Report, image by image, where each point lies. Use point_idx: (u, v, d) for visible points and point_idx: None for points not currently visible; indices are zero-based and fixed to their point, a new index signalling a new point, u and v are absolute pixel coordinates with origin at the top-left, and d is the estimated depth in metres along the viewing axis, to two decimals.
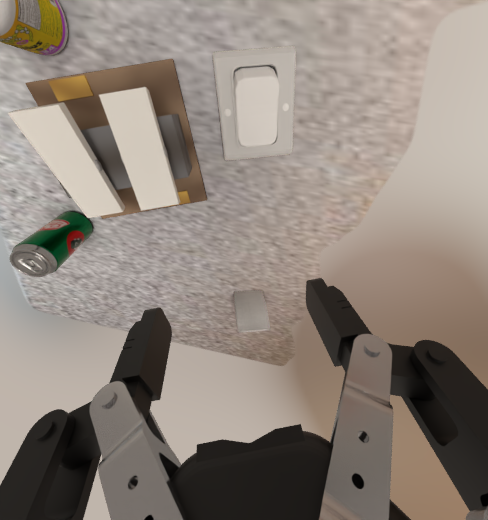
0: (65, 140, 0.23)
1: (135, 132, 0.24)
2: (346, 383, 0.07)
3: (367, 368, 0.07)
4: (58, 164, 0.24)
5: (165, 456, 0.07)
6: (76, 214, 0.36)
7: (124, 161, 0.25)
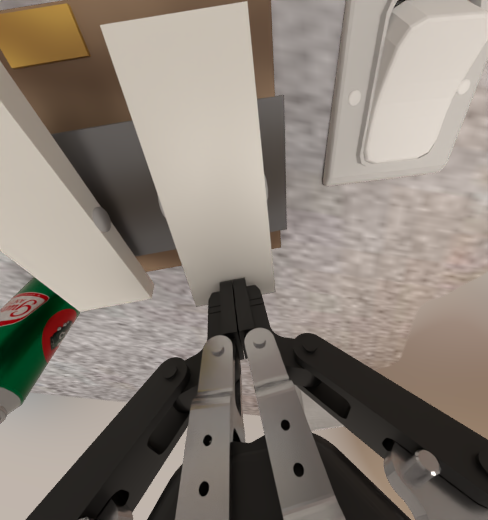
0: (8, 167, 0.08)
1: (201, 142, 0.09)
2: (255, 386, 0.07)
3: (263, 360, 0.08)
4: None
5: (237, 432, 0.07)
6: None
7: (167, 213, 0.10)
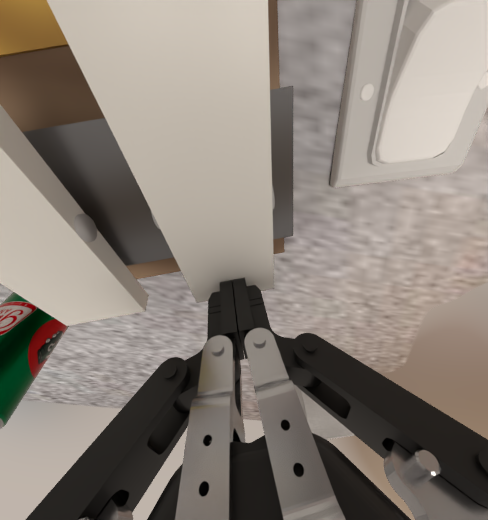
0: None
1: (199, 154, 0.07)
2: (255, 386, 0.07)
3: (263, 360, 0.08)
4: None
5: (237, 432, 0.07)
6: None
7: (163, 227, 0.09)
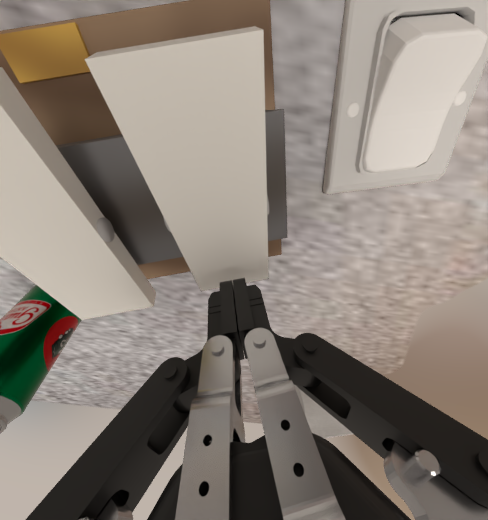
0: (16, 180, 0.08)
1: (206, 173, 0.09)
2: (255, 386, 0.07)
3: (263, 360, 0.08)
4: (4, 235, 0.09)
5: (237, 432, 0.07)
6: None
7: (173, 231, 0.11)
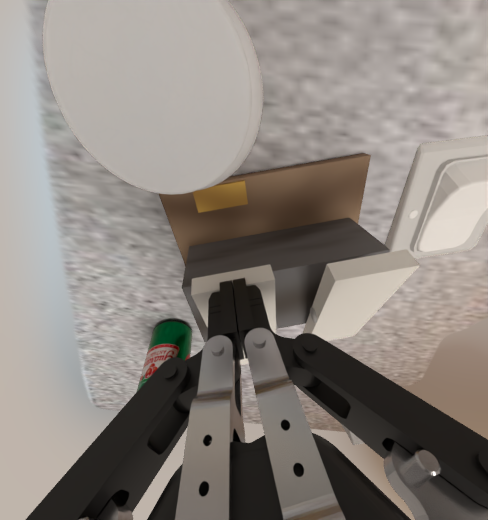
0: None
1: (356, 302, 0.15)
2: (255, 386, 0.07)
3: (263, 360, 0.08)
4: None
5: (237, 432, 0.07)
6: (179, 326, 0.27)
7: (317, 322, 0.17)
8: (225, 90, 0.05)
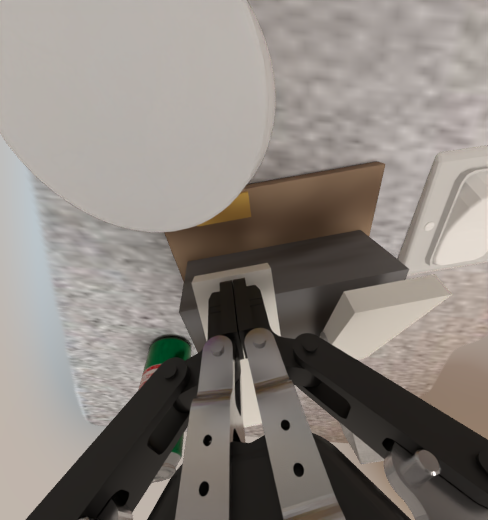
0: None
1: (374, 330, 0.13)
2: (254, 386, 0.07)
3: (263, 360, 0.08)
4: None
5: (237, 432, 0.07)
6: (177, 343, 0.26)
7: None
8: (231, 97, 0.04)
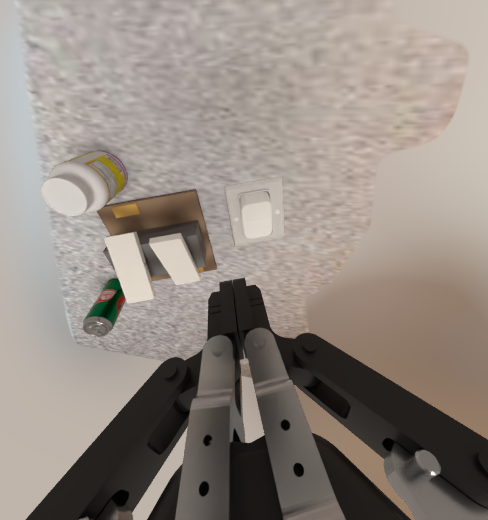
0: (130, 251, 0.36)
1: (173, 256, 0.35)
2: (254, 386, 0.07)
3: (263, 360, 0.08)
4: (120, 265, 0.36)
5: (237, 432, 0.07)
6: (119, 282, 0.48)
7: (165, 267, 0.37)
8: (78, 195, 0.26)
